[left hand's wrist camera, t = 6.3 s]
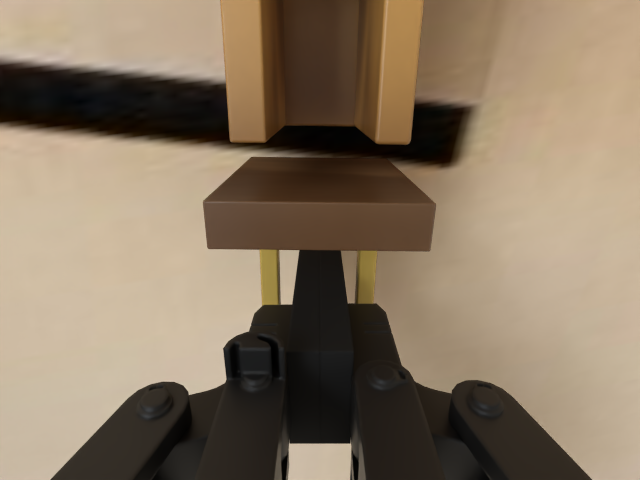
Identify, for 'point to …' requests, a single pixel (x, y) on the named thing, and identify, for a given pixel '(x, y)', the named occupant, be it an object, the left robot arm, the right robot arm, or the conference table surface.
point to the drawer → (320, 110)
